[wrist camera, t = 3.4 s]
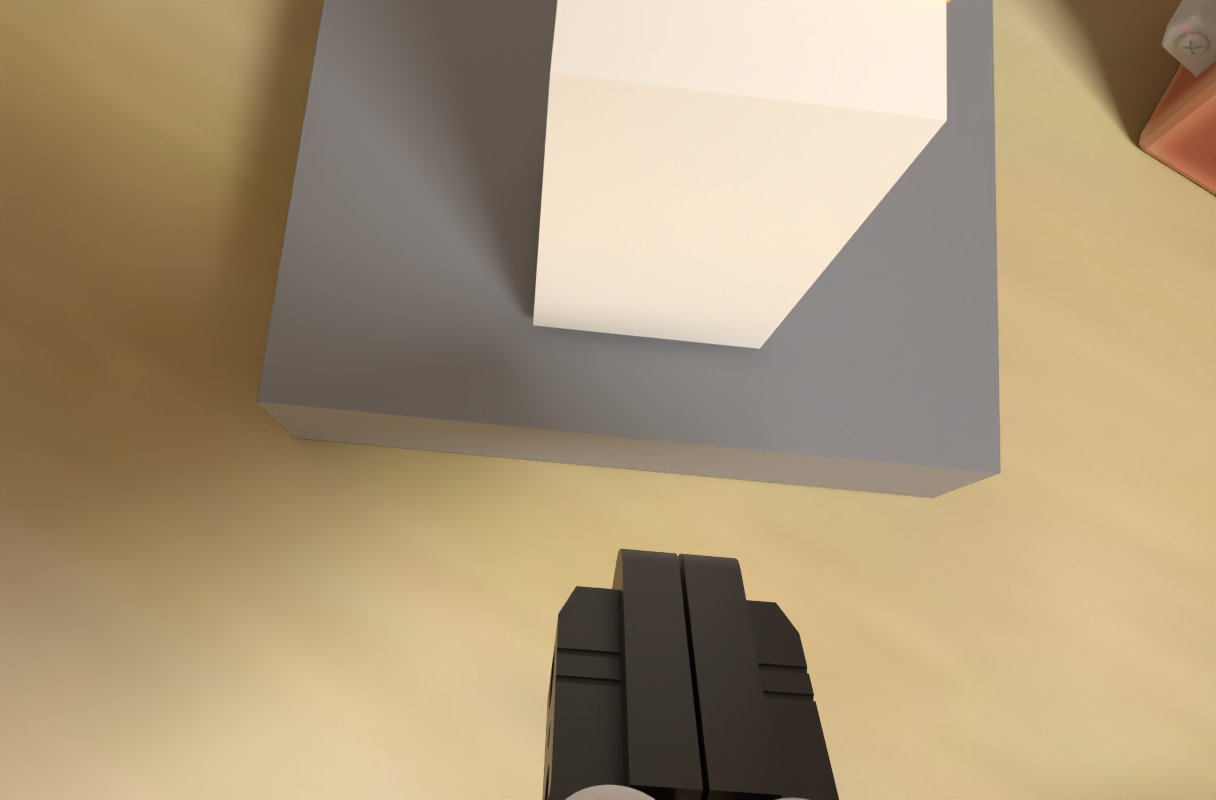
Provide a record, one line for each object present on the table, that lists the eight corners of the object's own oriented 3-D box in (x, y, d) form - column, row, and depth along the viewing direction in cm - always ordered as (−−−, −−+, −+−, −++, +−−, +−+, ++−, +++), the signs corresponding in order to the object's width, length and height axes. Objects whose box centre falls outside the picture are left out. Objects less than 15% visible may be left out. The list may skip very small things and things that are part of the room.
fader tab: (770, 167, 19) (955, -179, 11) (762, 349, 18) (958, 112, 10) (548, 142, 19) (576, -233, 11) (530, 325, 18) (545, 63, 10)
